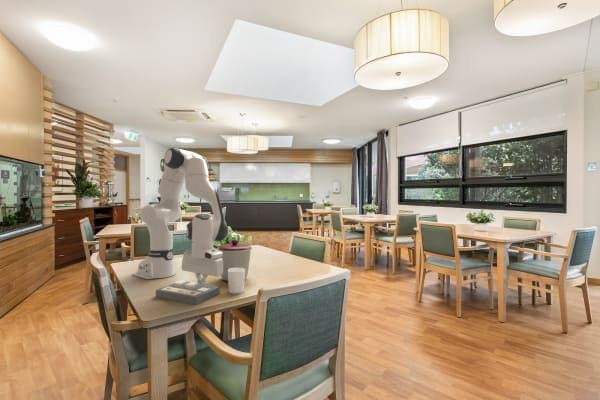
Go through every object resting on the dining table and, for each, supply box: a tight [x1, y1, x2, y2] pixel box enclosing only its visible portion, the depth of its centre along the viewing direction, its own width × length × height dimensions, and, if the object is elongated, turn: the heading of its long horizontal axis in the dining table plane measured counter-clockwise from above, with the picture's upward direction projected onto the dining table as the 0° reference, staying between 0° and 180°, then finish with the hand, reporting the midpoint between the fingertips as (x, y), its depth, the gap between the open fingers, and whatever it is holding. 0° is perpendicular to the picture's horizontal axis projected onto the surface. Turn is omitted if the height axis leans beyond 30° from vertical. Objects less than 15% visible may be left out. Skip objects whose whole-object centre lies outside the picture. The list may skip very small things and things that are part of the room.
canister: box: [216, 238, 253, 282], centre depth 154 cm, size 18×18×21 cm
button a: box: [173, 279, 188, 287], centre depth 133 cm, size 4×4×2 cm
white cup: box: [227, 268, 246, 295], centre depth 135 cm, size 8×8×10 cm
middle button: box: [185, 281, 200, 289], centre depth 130 cm, size 4×4×2 cm
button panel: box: [155, 281, 221, 306], centre depth 128 cm, size 22×15×3 cm
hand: (201, 283), depth 128 cm, fingers closed
